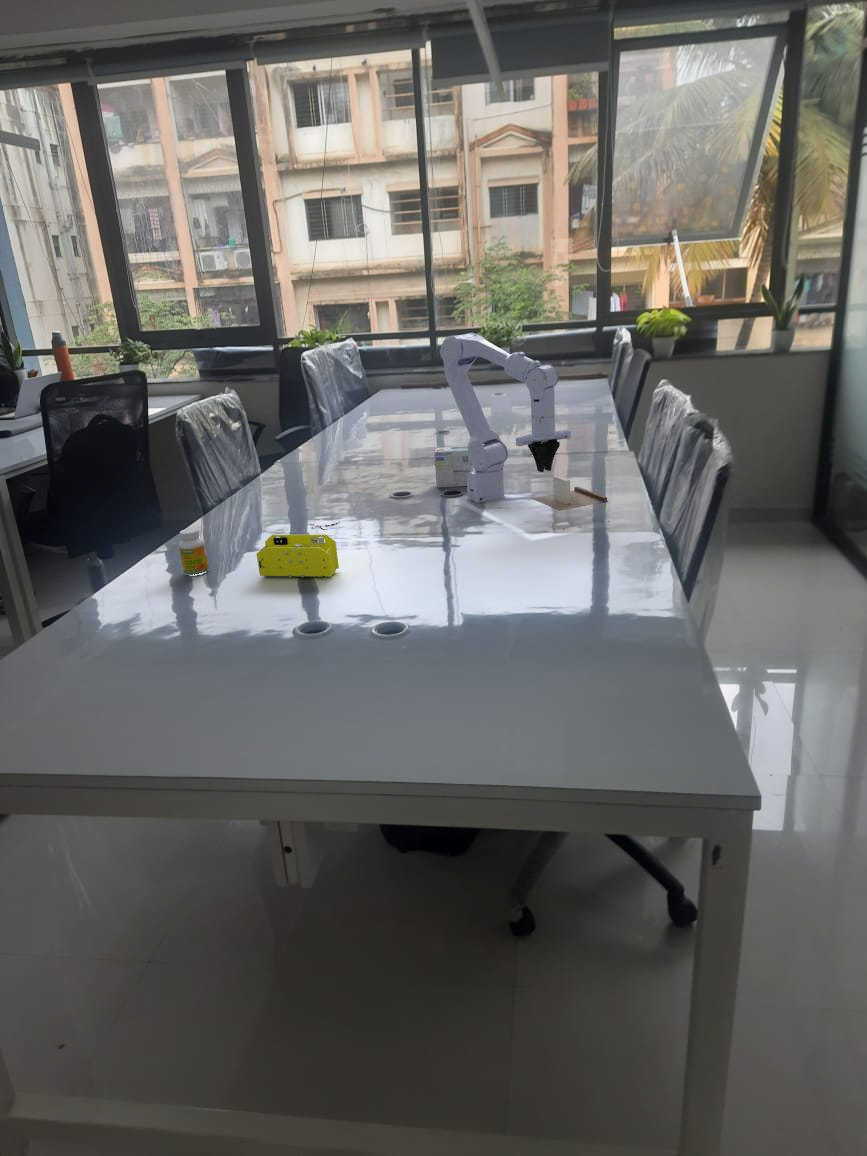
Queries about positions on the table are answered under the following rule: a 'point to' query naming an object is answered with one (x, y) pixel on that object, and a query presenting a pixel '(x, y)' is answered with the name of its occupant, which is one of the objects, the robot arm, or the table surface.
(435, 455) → the light bulb box
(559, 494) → the tile
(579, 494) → the board
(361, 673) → the table surface
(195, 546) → the supplement bottle
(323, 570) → the yellow toy chassis
